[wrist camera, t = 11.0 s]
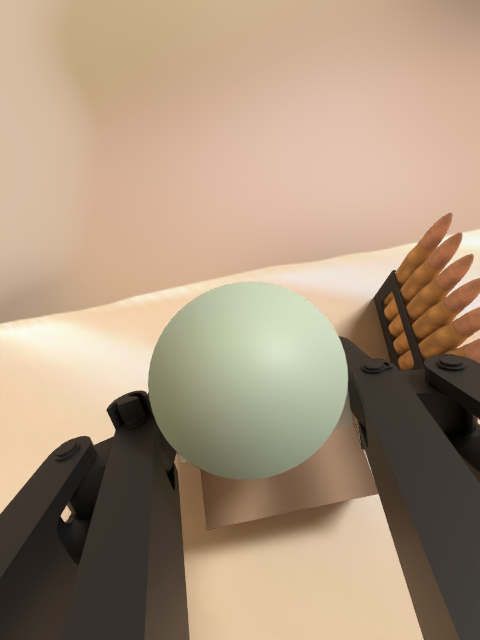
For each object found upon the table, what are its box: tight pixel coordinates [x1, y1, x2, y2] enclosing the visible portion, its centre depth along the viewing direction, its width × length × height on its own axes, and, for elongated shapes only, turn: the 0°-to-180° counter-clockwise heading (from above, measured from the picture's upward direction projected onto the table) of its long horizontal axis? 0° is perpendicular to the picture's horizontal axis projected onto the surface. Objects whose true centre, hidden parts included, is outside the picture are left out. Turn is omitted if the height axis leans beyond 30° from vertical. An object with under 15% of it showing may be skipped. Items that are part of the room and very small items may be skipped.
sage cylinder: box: [148, 282, 348, 480], centre depth 11 cm, size 5×5×11 cm
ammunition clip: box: [374, 213, 480, 370], centre depth 20 cm, size 11×2×12 cm, turn 179°
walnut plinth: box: [201, 425, 379, 530], centre depth 22 cm, size 12×12×4 cm
